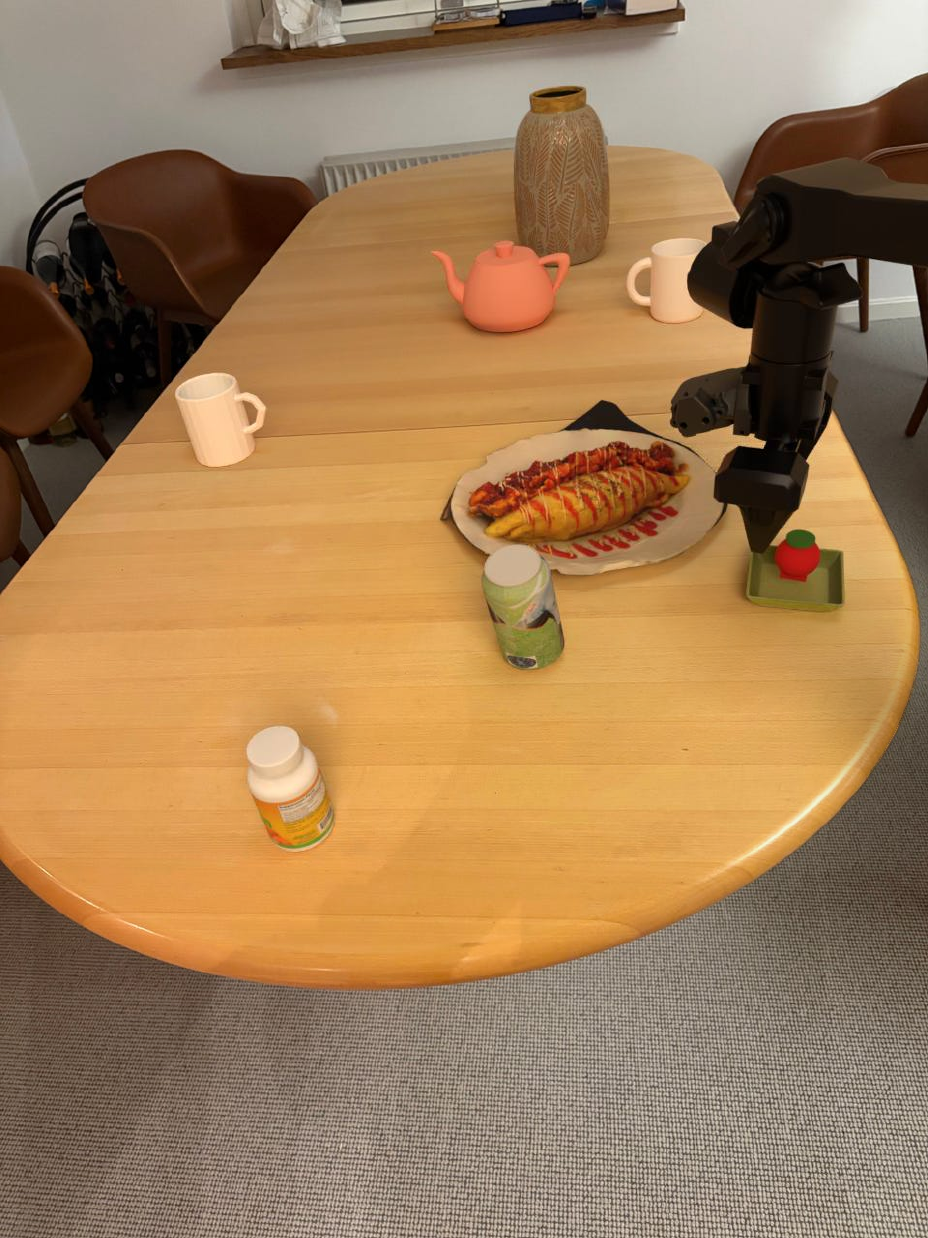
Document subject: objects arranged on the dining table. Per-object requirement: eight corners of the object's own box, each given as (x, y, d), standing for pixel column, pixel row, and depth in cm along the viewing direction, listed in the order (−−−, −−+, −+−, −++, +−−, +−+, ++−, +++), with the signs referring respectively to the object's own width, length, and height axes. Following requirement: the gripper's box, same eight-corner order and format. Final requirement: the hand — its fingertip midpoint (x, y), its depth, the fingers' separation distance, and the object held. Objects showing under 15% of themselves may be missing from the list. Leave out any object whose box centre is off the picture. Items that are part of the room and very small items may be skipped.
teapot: (432, 342, 142) (421, 264, 134) (447, 306, 153) (437, 232, 145) (569, 334, 138) (566, 254, 130) (574, 298, 149) (571, 222, 141)
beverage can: (576, 643, 84) (571, 540, 76) (539, 693, 79) (530, 589, 71) (518, 625, 87) (508, 524, 79) (479, 672, 82) (465, 570, 74)
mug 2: (625, 326, 138) (625, 259, 131) (626, 306, 144) (626, 241, 138) (704, 323, 136) (708, 254, 129) (702, 302, 142) (706, 236, 135)
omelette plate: (627, 399, 118) (628, 350, 113) (778, 545, 93) (786, 490, 88) (407, 463, 113) (397, 415, 108) (502, 635, 88) (495, 583, 83)
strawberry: (820, 564, 85) (826, 528, 82) (813, 589, 82) (820, 552, 80) (777, 557, 87) (782, 521, 84) (769, 581, 84) (774, 545, 81)
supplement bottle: (262, 814, 72) (229, 734, 66) (325, 789, 73) (298, 708, 67) (278, 864, 68) (244, 784, 62) (344, 837, 69) (317, 756, 63)
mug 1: (265, 470, 116) (245, 401, 110) (186, 466, 119) (162, 399, 113) (290, 439, 122) (273, 373, 115) (214, 436, 125) (193, 371, 119)
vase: (586, 274, 157) (582, 102, 140) (502, 267, 165) (488, 104, 148) (624, 242, 168) (625, 79, 151) (543, 236, 176) (535, 81, 159)
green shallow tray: (841, 623, 82) (845, 606, 80) (743, 613, 84) (745, 596, 83) (840, 566, 88) (843, 550, 86) (749, 559, 90) (751, 542, 89)
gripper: (712, 296, 75) (702, 456, 85) (648, 393, 63) (645, 567, 73) (852, 303, 71) (824, 472, 81) (812, 409, 59) (785, 592, 68)
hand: (768, 521), depth 76 cm, fingers open, 9 cm apart
